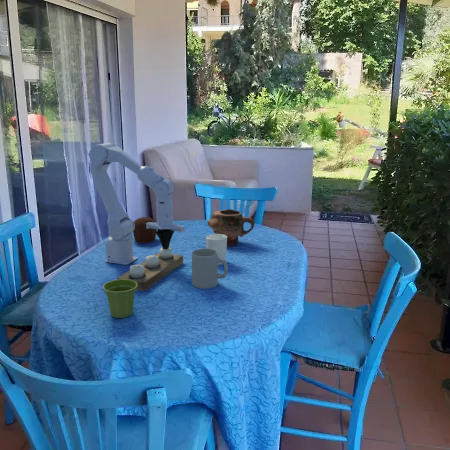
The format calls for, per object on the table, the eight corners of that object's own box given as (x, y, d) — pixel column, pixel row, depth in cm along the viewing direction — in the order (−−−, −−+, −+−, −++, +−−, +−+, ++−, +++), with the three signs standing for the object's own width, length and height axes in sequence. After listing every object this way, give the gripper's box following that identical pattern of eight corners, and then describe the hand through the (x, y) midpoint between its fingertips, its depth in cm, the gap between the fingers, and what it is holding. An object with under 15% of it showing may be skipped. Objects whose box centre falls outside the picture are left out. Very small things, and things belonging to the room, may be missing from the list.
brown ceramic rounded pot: (254, 240, 197) (255, 209, 194) (253, 248, 186) (254, 216, 182) (209, 238, 199) (209, 207, 195) (205, 247, 187) (205, 214, 184)
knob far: (157, 257, 164) (157, 249, 163) (163, 254, 168) (163, 246, 167) (168, 259, 162) (168, 250, 161) (174, 255, 166) (173, 247, 165)
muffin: (145, 235, 203) (144, 213, 200) (163, 239, 197) (163, 217, 194) (125, 241, 194) (124, 218, 191) (144, 246, 188) (143, 222, 185)
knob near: (127, 276, 146) (127, 267, 145) (134, 272, 150) (134, 263, 149) (139, 278, 144) (139, 269, 143) (146, 274, 148) (146, 264, 147)
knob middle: (143, 266, 155) (143, 257, 154) (149, 262, 159) (149, 254, 158) (154, 268, 153) (154, 259, 152) (161, 264, 157) (160, 255, 156)
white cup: (224, 266, 165) (224, 240, 162) (203, 264, 167) (203, 238, 164) (228, 259, 172) (229, 234, 170) (208, 257, 174) (208, 233, 171)
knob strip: (117, 286, 146) (117, 277, 145) (159, 259, 171) (159, 251, 170) (144, 291, 142) (144, 281, 142) (183, 263, 168) (183, 255, 167)
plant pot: (107, 306, 131) (105, 279, 129) (140, 306, 132) (139, 278, 130) (101, 321, 122) (99, 292, 120) (136, 320, 123) (135, 291, 121)
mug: (188, 287, 146) (188, 255, 143) (196, 277, 154) (196, 247, 151) (224, 291, 143) (224, 258, 140) (230, 281, 151) (231, 250, 148)
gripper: (141, 213, 159) (142, 249, 163) (178, 217, 155) (178, 254, 158) (151, 209, 166) (152, 244, 169) (186, 212, 161) (187, 248, 164)
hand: (165, 249), depth 164 cm, fingers closed, pressing on knob far
